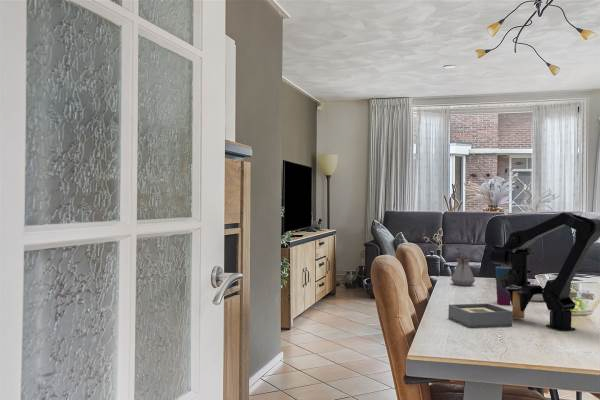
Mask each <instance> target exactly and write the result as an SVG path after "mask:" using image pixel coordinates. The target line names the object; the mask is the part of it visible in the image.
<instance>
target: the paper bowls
mask: <svg viewBox="0 0 600 400" xmlns="http://www.w3.org/2000/svg"><path fill="white" fill-rule="evenodd" d="M537 280H538V279H534V278H528V281H530V284H536V285H539V284H538V282H537ZM521 287H522V286H521ZM543 301H544V299H543V297H542V294H535V295H533V297H532V298H531V300H530V301H529V302H543ZM544 302H545V301H544Z"/></svg>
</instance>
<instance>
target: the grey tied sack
mask: <svg viewBox="0 0 600 400" xmlns="http://www.w3.org/2000/svg"><path fill="white" fill-rule="evenodd" d="M455 260H456V263H457V264H456V267H455V269H454V272H453V274H452V276H451V278H450V280H451V282H452V283H453V284H454V285H455V286H458V287H470V286H472V285H473V284H474V283H475V277H474V274H473V272H472V270H471V267H470V264H469V263H470V261H471V260H470V259H465V258H463V257H462V258H457V259H456V258H455Z"/></svg>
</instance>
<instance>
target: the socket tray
mask: <svg viewBox="0 0 600 400" xmlns="http://www.w3.org/2000/svg"><path fill="white" fill-rule="evenodd" d="M447 317H448V320H451V321H453V322H455V323H457V324H459V323H460V325H462V326H464V327H466V326H467V328H469V329H477V328H479V329H480V328H481V329H482V328H505V327H513V317H512V310H510V309H509V310H508V309H506V308H504V307H500V306H497V305H495V304H491V303H464V304H463V303H462V304H460V303H459V304H458V303H457V304H448V316H447Z"/></svg>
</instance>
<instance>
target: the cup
mask: <svg viewBox="0 0 600 400" xmlns="http://www.w3.org/2000/svg"><path fill="white" fill-rule="evenodd" d="M510 268H511V266H510V267H508V266H495V278H496V277H498V276H501V275H503V274H506V273H507V270H508V269H510ZM495 284H496V303H497V305H500V306H511V300H510V297H509V294H508V293H507V292H506V291H505V290H504V289H503V288H502V287H498V286H497V282H496V283H495Z"/></svg>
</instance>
